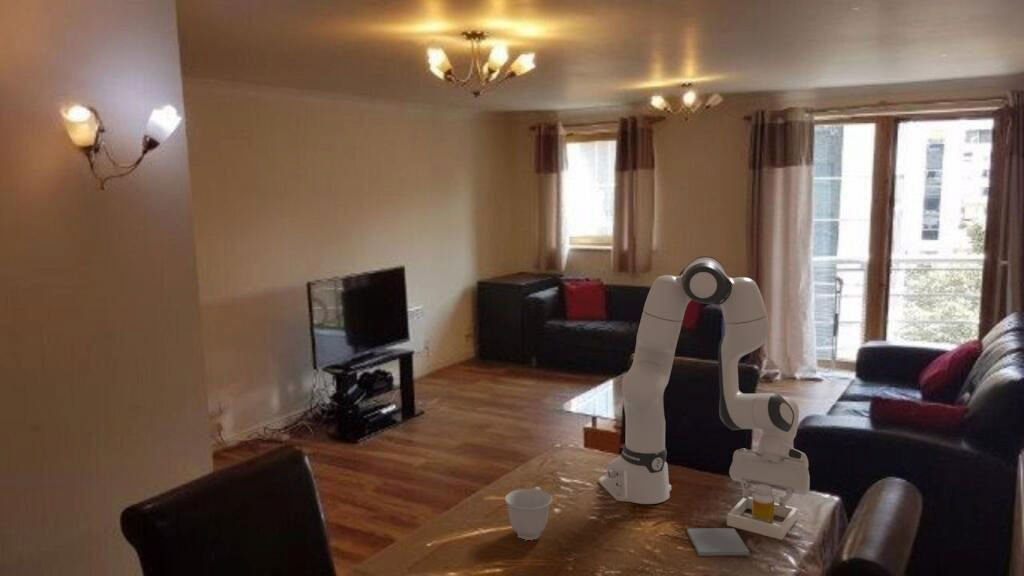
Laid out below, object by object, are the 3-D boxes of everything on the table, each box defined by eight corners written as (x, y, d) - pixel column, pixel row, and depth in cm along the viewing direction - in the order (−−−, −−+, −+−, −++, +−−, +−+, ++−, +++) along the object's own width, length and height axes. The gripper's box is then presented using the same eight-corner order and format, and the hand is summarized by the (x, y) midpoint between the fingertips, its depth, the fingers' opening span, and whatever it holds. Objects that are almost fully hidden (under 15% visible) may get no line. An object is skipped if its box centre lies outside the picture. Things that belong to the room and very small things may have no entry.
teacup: (560, 523, 195) (561, 487, 194) (544, 550, 181) (544, 511, 180) (517, 517, 199) (517, 481, 198) (498, 542, 185) (497, 504, 184)
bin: (726, 525, 194) (727, 514, 193) (744, 506, 205) (745, 495, 205) (781, 539, 186) (782, 528, 185) (797, 519, 197) (797, 508, 197)
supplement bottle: (774, 527, 192) (776, 492, 191) (752, 526, 193) (754, 490, 192) (771, 518, 197) (773, 483, 196) (750, 516, 199) (752, 482, 197)
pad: (687, 532, 190) (687, 528, 190) (733, 531, 190) (734, 528, 190) (699, 555, 178) (699, 551, 178) (749, 555, 178) (749, 551, 178)
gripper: (733, 441, 205) (721, 488, 198) (812, 455, 194) (802, 505, 187) (737, 452, 209) (725, 497, 202) (814, 466, 198) (805, 515, 191)
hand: (763, 501), depth 194 cm, fingers open, 8 cm apart
